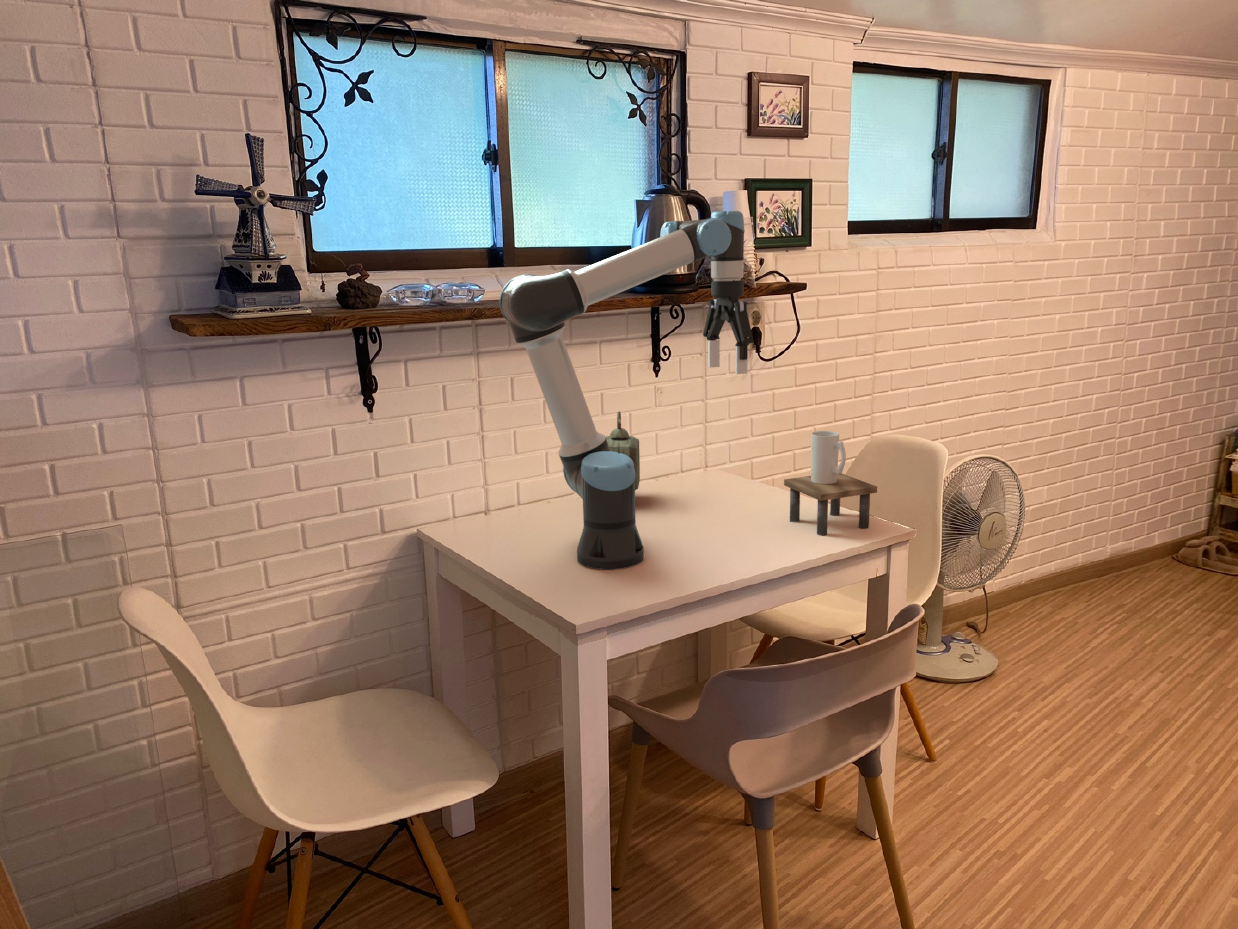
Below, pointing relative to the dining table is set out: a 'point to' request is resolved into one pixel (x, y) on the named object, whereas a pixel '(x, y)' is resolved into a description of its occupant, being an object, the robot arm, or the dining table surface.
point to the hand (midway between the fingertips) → (727, 370)
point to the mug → (826, 457)
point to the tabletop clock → (625, 446)
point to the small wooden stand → (825, 492)
